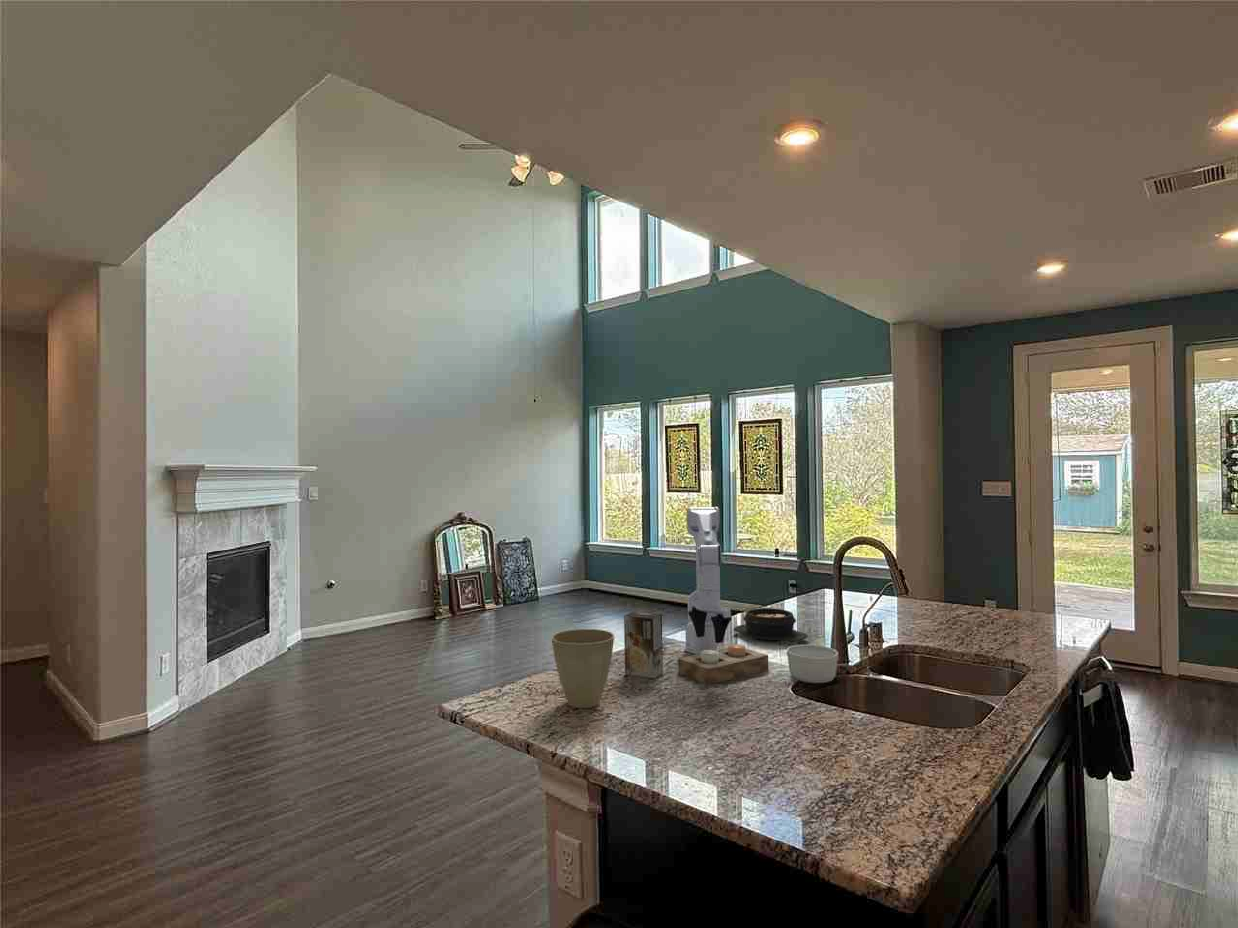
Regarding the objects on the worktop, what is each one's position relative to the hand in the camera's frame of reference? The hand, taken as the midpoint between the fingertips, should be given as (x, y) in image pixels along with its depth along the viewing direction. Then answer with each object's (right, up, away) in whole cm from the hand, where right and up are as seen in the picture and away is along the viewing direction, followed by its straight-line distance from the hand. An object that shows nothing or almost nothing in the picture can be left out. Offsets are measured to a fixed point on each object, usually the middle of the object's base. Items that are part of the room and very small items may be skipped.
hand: (709, 639), depth 176 cm
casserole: (+25, -10, +38) cm, 47 cm away
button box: (+4, -9, +3) cm, 11 cm away
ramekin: (+27, -10, -3) cm, 29 cm away
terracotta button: (+8, -7, +5) cm, 12 cm away
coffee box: (-18, -10, +1) cm, 20 cm away
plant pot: (-33, -10, -21) cm, 40 cm away
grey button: (0, -7, 0) cm, 7 cm away
